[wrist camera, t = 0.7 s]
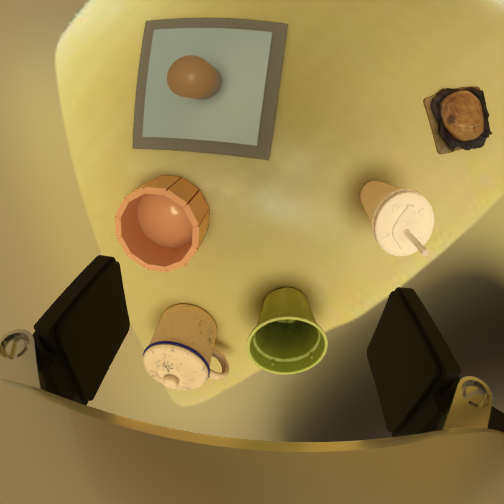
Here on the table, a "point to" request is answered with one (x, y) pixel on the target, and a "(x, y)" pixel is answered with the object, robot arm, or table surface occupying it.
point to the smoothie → (398, 218)
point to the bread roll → (458, 119)
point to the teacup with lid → (184, 349)
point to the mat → (268, 100)
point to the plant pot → (286, 334)
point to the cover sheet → (222, 107)
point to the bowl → (162, 223)
